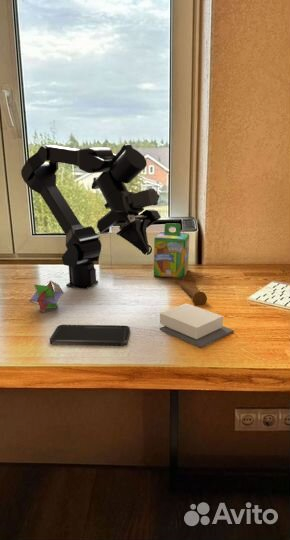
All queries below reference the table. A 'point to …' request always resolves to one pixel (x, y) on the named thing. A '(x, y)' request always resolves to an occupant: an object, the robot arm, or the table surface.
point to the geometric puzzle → (47, 295)
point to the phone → (90, 335)
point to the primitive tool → (192, 291)
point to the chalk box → (171, 252)
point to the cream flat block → (191, 320)
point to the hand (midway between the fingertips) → (147, 252)
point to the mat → (203, 340)
